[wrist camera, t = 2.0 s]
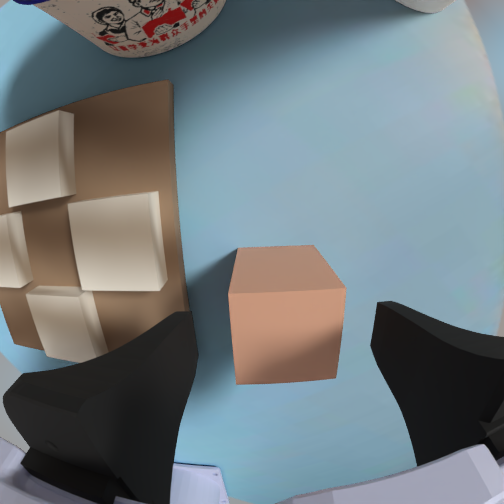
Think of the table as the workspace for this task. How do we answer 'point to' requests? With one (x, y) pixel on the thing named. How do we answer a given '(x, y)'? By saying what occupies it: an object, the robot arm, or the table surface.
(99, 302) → the walnut board
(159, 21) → the teacup with lid
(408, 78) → the table surface
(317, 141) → the table surface
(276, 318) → the terracotta block
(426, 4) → the cylindrical container
